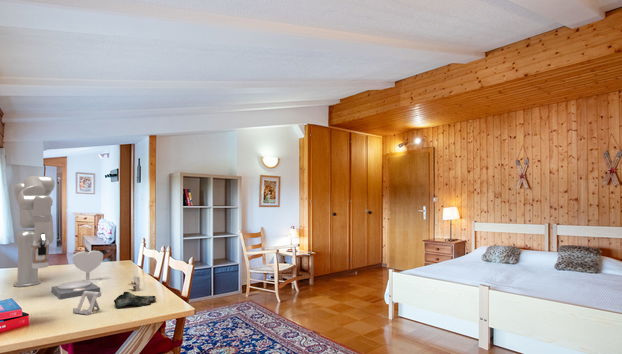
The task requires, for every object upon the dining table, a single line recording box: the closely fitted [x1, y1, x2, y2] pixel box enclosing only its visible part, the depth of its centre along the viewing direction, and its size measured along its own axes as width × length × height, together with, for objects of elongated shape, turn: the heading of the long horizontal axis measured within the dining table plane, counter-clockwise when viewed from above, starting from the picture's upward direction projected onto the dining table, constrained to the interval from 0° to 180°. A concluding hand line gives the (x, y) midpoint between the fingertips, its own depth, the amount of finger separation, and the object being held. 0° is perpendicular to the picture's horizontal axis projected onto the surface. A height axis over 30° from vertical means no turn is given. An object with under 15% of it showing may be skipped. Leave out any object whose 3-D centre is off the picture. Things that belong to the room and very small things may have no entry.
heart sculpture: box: [72, 250, 104, 283], centre depth 222 cm, size 16×5×18 cm, turn 128°
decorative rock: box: [113, 291, 157, 310], centre depth 175 cm, size 19×6×15 cm
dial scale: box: [51, 280, 101, 300], centre depth 197 cm, size 22×18×4 cm
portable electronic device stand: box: [72, 291, 102, 316], centre depth 162 cm, size 9×8×8 cm
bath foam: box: [32, 239, 50, 269], centre depth 190 cm, size 7×7×20 cm
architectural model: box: [126, 276, 141, 292], centre depth 200 cm, size 3×7×7 cm, turn 51°
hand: (40, 253), depth 189 cm, fingers closed on bath foam, 7 cm apart
